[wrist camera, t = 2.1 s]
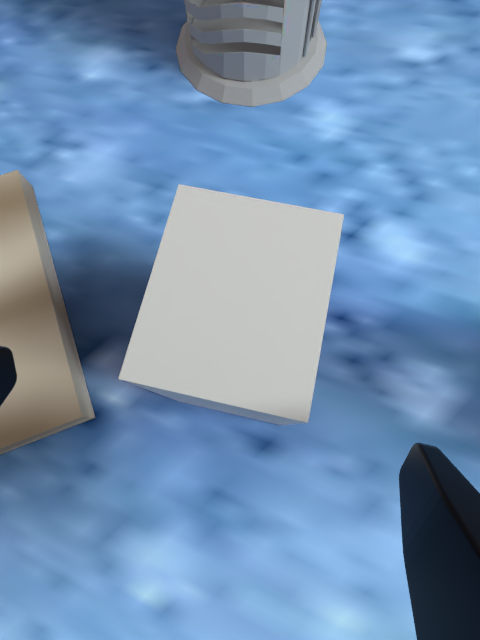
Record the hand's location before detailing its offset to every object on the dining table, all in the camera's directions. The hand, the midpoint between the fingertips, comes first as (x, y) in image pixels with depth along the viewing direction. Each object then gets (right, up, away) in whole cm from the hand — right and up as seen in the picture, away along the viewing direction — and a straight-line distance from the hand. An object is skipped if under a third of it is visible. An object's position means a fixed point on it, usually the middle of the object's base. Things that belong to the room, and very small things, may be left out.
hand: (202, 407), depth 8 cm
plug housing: (+1, 0, +11) cm, 11 cm away
